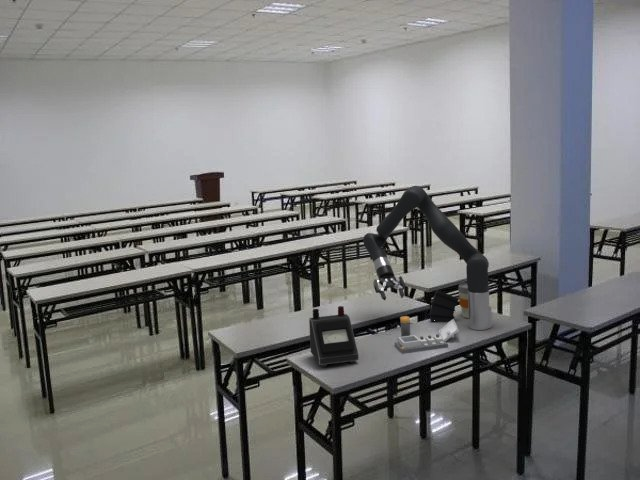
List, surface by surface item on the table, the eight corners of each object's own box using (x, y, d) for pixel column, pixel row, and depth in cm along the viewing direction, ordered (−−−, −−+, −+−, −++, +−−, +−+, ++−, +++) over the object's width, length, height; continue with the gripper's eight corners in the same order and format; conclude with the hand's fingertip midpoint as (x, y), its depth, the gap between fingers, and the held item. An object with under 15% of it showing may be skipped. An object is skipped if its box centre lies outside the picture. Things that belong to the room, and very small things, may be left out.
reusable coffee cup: (474, 320, 276) (474, 289, 274) (453, 316, 286) (452, 285, 284) (490, 315, 284) (490, 285, 282) (469, 310, 294) (468, 281, 292)
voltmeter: (319, 368, 231) (317, 319, 228) (310, 355, 247) (308, 309, 244) (359, 363, 235) (357, 315, 232) (347, 350, 250) (345, 305, 248)
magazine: (423, 316, 283) (436, 289, 280) (448, 327, 283) (461, 299, 281) (424, 319, 279) (437, 290, 277) (449, 329, 279) (462, 301, 277)
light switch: (463, 335, 250) (458, 325, 265) (456, 327, 250) (451, 317, 264) (447, 347, 252) (444, 336, 266) (440, 339, 252) (437, 329, 266)
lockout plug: (408, 337, 261) (407, 315, 260) (411, 340, 257) (410, 318, 256) (400, 338, 261) (399, 316, 259) (403, 341, 257) (401, 319, 255)
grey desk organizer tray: (439, 339, 255) (438, 330, 255) (447, 347, 246) (447, 338, 245) (394, 345, 252) (394, 336, 251) (402, 353, 242) (401, 344, 242)
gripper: (371, 266, 272) (381, 295, 263) (399, 262, 275) (410, 292, 266) (367, 275, 278) (377, 304, 269) (395, 271, 281) (406, 300, 272)
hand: (393, 298), depth 268 cm, fingers open, 8 cm apart
